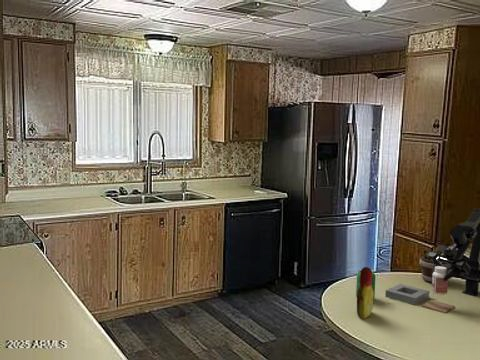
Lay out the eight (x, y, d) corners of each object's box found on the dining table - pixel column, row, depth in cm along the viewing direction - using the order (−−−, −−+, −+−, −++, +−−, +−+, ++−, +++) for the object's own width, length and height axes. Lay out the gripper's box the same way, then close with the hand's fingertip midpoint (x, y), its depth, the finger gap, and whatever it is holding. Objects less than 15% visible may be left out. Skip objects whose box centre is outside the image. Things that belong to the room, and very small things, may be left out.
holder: (400, 289, 231) (400, 283, 231) (429, 297, 221) (429, 291, 221) (385, 296, 221) (385, 290, 221) (415, 304, 211) (415, 298, 211)
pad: (431, 301, 216) (431, 300, 216) (454, 307, 209) (454, 306, 209) (421, 306, 209) (421, 305, 209) (445, 313, 202) (445, 311, 202)
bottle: (368, 321, 192) (371, 272, 190) (352, 318, 194) (354, 269, 192) (374, 311, 202) (377, 264, 200) (359, 309, 205) (361, 262, 203)
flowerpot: (412, 276, 252) (414, 238, 250) (440, 276, 254) (443, 238, 252) (426, 285, 238) (428, 245, 236) (456, 285, 239) (458, 245, 237)
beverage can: (354, 300, 216) (355, 273, 215) (357, 294, 223) (358, 269, 222) (373, 302, 213) (374, 276, 212) (375, 297, 220) (376, 271, 219)
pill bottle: (450, 293, 208) (451, 268, 207) (441, 296, 204) (443, 270, 203) (437, 289, 213) (438, 264, 212) (428, 292, 210) (430, 266, 208)
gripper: (432, 233, 216) (412, 260, 213) (467, 242, 199) (446, 272, 196) (444, 249, 220) (424, 276, 217) (480, 259, 204) (459, 288, 200)
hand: (437, 277), depth 207 cm, fingers closed on pill bottle, 6 cm apart
